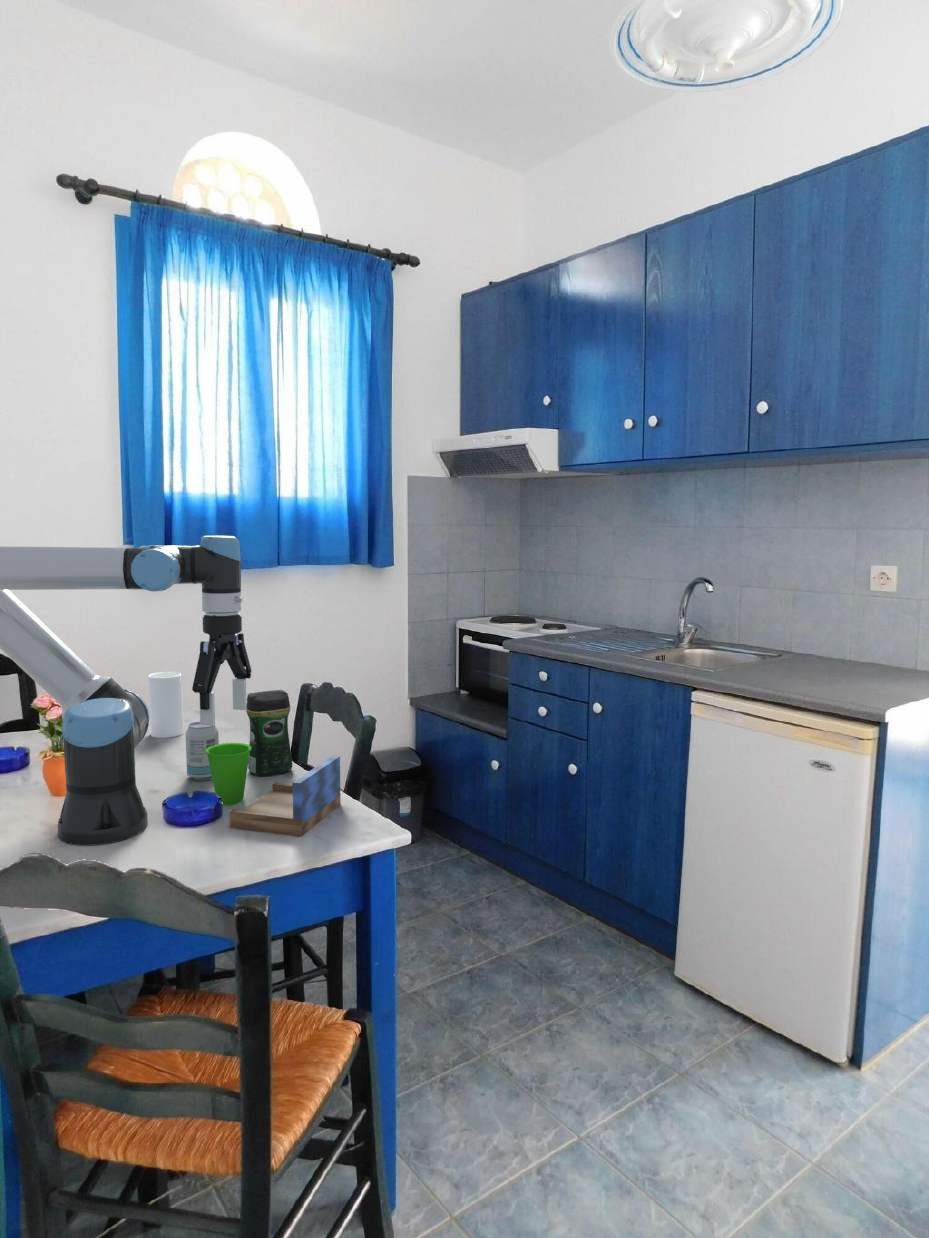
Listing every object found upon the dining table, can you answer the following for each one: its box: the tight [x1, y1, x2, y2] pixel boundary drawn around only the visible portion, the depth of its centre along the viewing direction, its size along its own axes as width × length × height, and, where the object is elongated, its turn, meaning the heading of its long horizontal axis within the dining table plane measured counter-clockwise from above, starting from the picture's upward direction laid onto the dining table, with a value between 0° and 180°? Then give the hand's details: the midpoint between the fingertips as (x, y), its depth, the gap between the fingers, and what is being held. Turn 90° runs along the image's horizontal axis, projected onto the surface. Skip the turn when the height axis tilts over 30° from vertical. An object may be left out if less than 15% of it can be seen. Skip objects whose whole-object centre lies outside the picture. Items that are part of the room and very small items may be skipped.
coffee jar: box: [245, 689, 293, 777], centre depth 183 cm, size 10×8×19 cm
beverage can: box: [185, 721, 220, 782], centre depth 178 cm, size 7×7×12 cm
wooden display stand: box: [229, 755, 342, 837], centre depth 156 cm, size 17×14×10 cm
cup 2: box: [205, 742, 252, 806], centre depth 163 cm, size 9×9×11 cm
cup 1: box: [147, 671, 184, 739], centre depth 214 cm, size 8×8×16 cm
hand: (224, 717), depth 164 cm, fingers open, 13 cm apart
